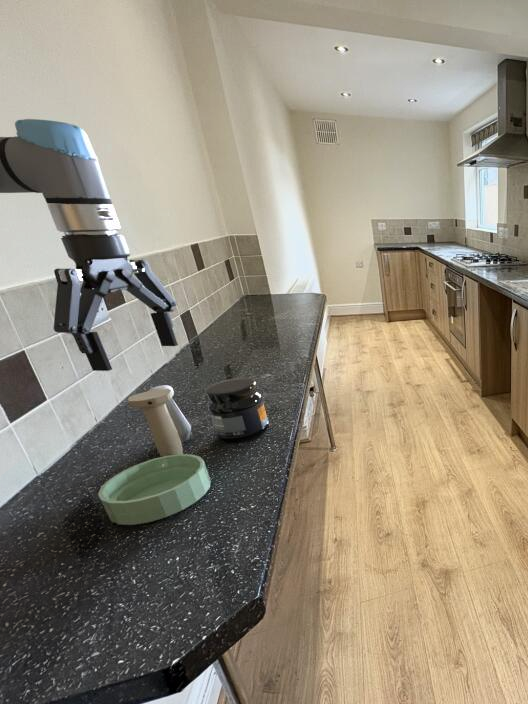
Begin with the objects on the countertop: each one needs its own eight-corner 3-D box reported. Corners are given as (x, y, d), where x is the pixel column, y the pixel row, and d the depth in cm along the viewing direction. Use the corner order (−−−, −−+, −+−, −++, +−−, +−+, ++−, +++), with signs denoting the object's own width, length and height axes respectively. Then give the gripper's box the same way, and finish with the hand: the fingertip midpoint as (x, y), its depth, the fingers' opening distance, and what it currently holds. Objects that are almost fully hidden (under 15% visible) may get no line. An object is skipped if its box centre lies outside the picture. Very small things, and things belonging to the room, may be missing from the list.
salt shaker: (191, 431, 96) (173, 380, 91) (196, 440, 92) (178, 387, 87) (160, 440, 92) (139, 387, 87) (163, 450, 88) (142, 395, 83)
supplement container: (274, 419, 101) (262, 374, 97) (265, 440, 92) (251, 391, 87) (225, 426, 98) (210, 379, 94) (210, 448, 89) (194, 398, 84)
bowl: (86, 526, 67) (73, 501, 65) (159, 475, 80) (150, 453, 78) (168, 529, 66) (158, 504, 64) (229, 477, 79) (222, 455, 77)
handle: (156, 460, 85) (129, 394, 79) (194, 450, 88) (171, 387, 82) (154, 471, 81) (126, 403, 75) (193, 461, 84) (169, 395, 78)
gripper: (25, 237, 55) (89, 383, 63) (176, 230, 78) (209, 337, 86) (-27, 237, 55) (44, 382, 63) (139, 230, 78) (175, 337, 86)
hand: (139, 357), depth 75 cm, fingers open, 13 cm apart
